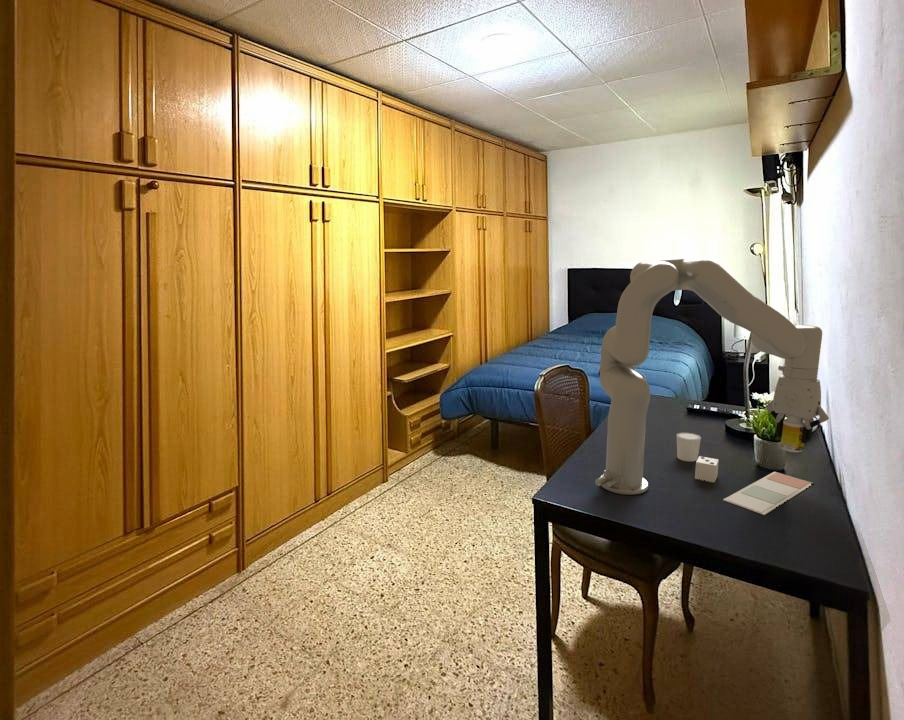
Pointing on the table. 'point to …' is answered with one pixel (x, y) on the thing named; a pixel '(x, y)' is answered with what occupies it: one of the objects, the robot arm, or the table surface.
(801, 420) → the supplement bottle
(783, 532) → the table surface
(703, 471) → the die
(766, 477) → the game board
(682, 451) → the white cup
